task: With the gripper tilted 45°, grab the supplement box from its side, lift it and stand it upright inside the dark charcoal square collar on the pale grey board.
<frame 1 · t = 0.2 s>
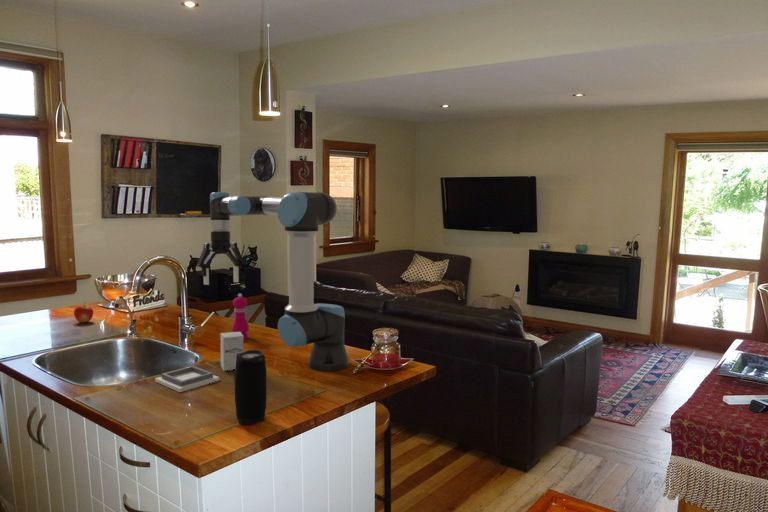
hand: (221, 283, 228), 27 cm above the countertop, tool pointing down, fingers open, 13 cm apart
collar board: (187, 381, 192), on the countertop
pepper mill: (240, 338, 248), on the countertop
apple: (84, 323, 270), on the countertop
portable speaker: (251, 420, 162), on the countertop
supplement box: (232, 368, 208), on the countertop
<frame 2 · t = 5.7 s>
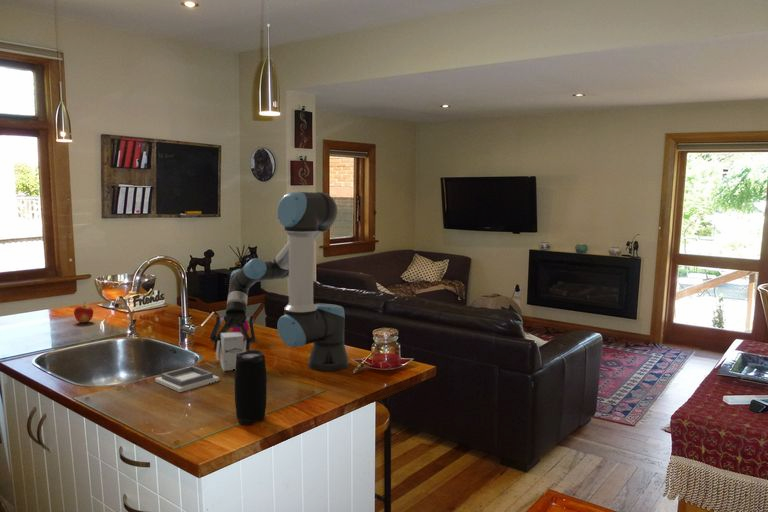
hand: (230, 358, 204), 5 cm above the countertop, tool tilted 45°, fingers closed on supplement box, 9 cm apart
supplement box: (232, 368, 208), on the countertop, touching gripper
everything else where it was.
when the fingers open (8 cm above the countertop, at t = 11.5 s): supplement box drops 2 cm, resting on collar board.
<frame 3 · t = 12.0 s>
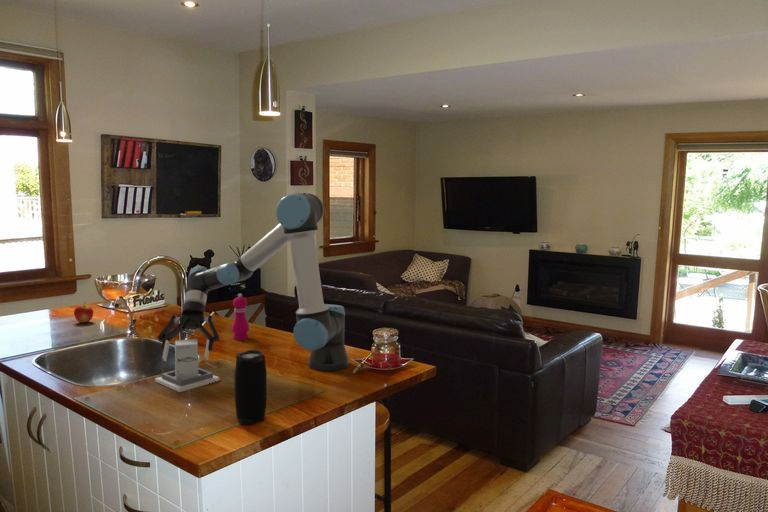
hand: (185, 359, 189), 8 cm above the countertop, tool tilted 45°, fingers open, 13 cm apart
supplement box: (187, 378, 192), point 1 cm above the countertop, touching collar board
everything else where it was.
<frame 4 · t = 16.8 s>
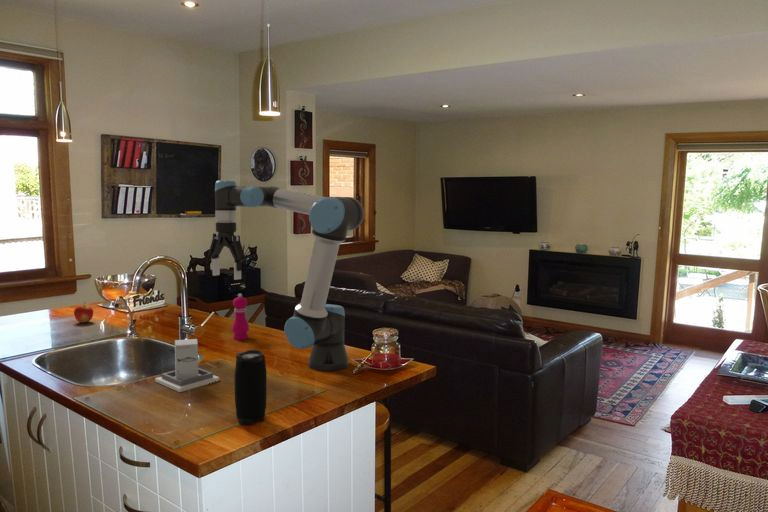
hand: (226, 277, 216), 32 cm above the countertop, tool pointing down, fingers open, 13 cm apart
nothing on the countertop moved.
at the end: supplement box 0.1 cm off-centre on the collar board, point 1.0 cm above the collar board's base; supplement box tilted 0°; the gripper is holding nothing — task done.
